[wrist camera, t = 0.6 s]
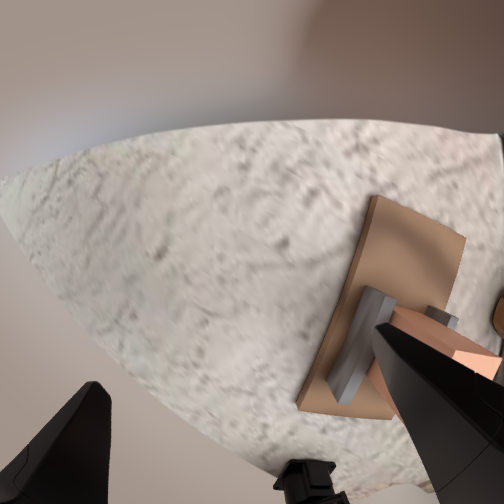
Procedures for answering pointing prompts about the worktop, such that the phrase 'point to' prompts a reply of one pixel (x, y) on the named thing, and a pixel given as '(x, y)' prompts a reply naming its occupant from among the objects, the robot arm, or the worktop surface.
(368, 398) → the chute
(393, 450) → the worktop surface
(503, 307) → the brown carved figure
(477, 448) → the robot arm
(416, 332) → the block
